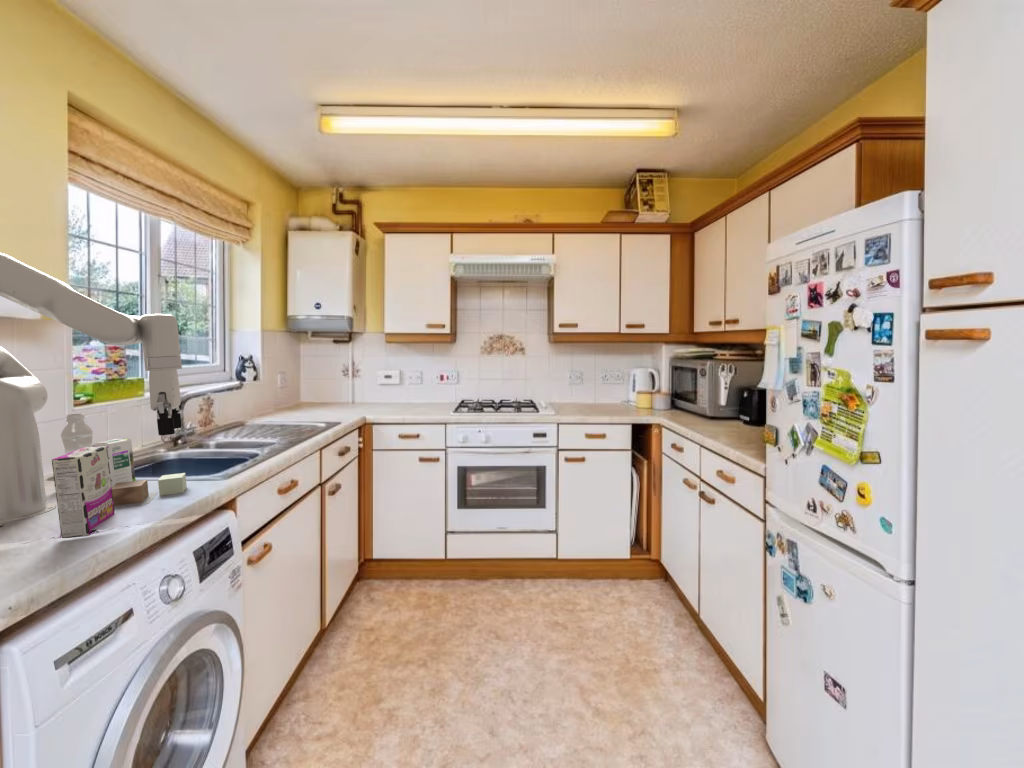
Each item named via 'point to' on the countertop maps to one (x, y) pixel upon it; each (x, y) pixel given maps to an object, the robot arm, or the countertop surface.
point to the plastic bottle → (76, 433)
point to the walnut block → (130, 492)
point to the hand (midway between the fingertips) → (170, 431)
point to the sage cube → (172, 484)
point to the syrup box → (119, 460)
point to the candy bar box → (83, 490)
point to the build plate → (146, 501)
